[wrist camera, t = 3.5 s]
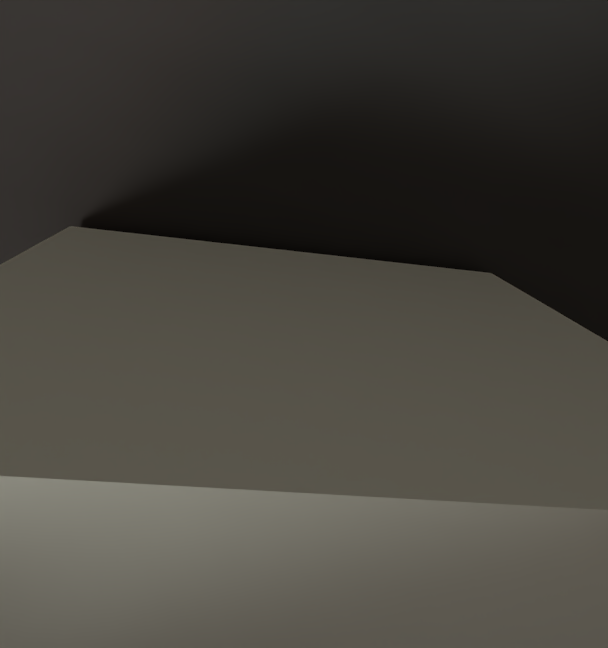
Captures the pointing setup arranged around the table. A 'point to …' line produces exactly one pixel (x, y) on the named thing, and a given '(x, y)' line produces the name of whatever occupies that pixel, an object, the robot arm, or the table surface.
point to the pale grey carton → (293, 453)
